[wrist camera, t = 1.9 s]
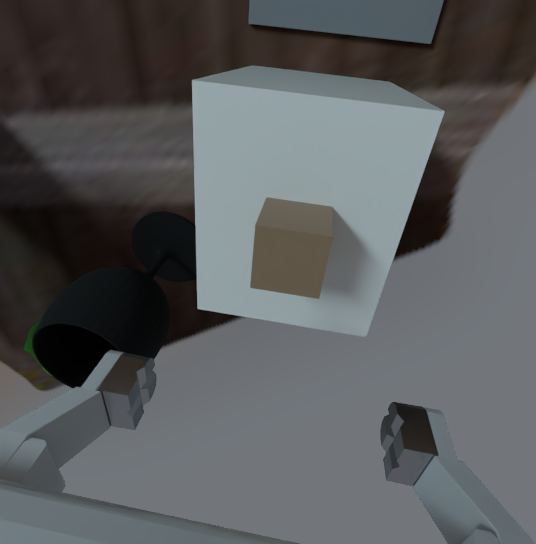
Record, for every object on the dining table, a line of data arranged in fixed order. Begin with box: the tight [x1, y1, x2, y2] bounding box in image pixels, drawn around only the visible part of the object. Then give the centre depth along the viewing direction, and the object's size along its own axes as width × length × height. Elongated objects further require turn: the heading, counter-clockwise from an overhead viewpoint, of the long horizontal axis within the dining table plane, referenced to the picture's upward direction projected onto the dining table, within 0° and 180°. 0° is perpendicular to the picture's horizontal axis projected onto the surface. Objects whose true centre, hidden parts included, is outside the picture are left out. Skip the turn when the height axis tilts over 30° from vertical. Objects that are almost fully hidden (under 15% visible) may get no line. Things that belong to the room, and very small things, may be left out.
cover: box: [192, 66, 445, 337], centre depth 28 cm, size 13×16×22 cm
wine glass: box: [32, 212, 197, 388], centre depth 37 cm, size 10×10×20 cm
